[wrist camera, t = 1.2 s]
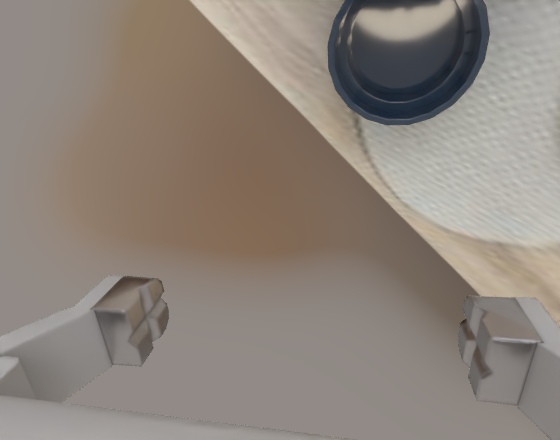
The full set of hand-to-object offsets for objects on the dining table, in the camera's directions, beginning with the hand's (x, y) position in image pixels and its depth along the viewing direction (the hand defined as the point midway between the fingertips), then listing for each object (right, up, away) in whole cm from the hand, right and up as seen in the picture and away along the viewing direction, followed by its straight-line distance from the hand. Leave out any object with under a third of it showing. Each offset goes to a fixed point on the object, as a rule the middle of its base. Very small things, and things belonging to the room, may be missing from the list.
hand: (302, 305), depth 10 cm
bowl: (+12, +20, +26) cm, 35 cm away
